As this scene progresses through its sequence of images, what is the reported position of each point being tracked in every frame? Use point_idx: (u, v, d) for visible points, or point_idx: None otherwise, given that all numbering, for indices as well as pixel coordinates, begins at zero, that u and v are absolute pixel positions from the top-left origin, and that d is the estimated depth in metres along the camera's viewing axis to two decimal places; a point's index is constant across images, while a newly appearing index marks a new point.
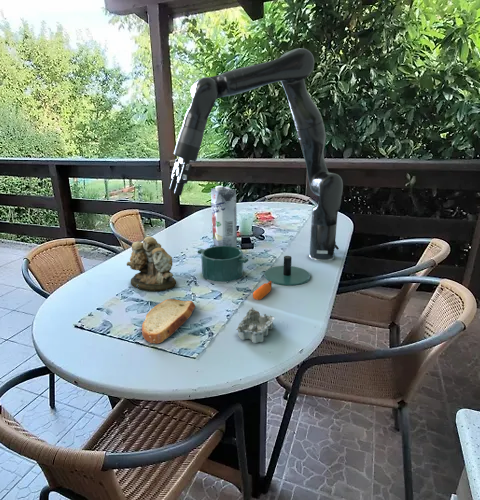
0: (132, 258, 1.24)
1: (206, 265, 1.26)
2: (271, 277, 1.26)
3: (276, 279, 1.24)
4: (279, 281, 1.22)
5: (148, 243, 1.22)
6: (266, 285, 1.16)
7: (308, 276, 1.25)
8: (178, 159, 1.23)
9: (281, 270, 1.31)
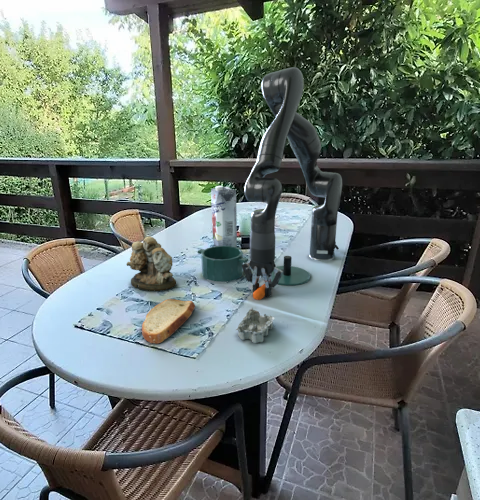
0: (132, 258, 1.24)
1: (206, 265, 1.26)
2: None
3: None
4: (279, 281, 1.22)
5: (148, 243, 1.22)
6: None
7: (308, 276, 1.25)
8: None
9: None
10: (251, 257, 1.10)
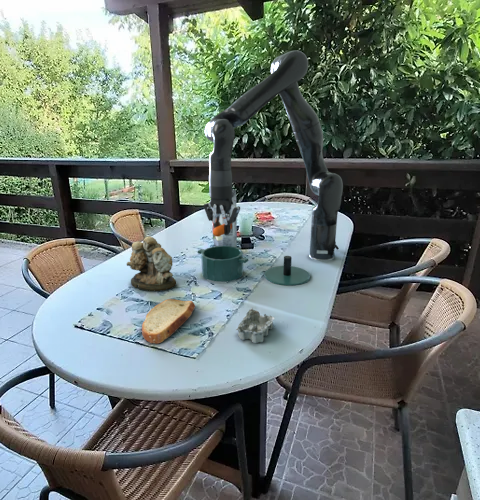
0: (132, 258, 1.24)
1: (206, 265, 1.26)
2: (271, 277, 1.26)
3: (276, 279, 1.24)
4: (279, 281, 1.22)
5: (148, 243, 1.22)
6: None
7: (308, 276, 1.25)
8: None
9: (281, 270, 1.31)
10: (210, 195, 1.20)
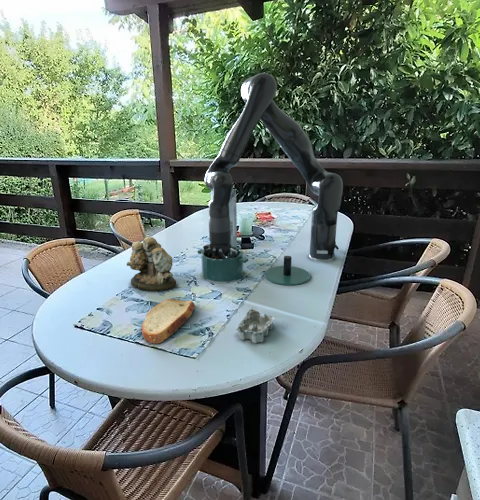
0: (132, 258, 1.24)
1: (206, 265, 1.26)
2: (271, 277, 1.26)
3: (276, 279, 1.24)
4: (279, 281, 1.22)
5: (148, 243, 1.22)
6: None
7: (308, 276, 1.25)
8: (205, 245, 1.31)
9: (281, 270, 1.31)
10: (210, 239, 1.26)
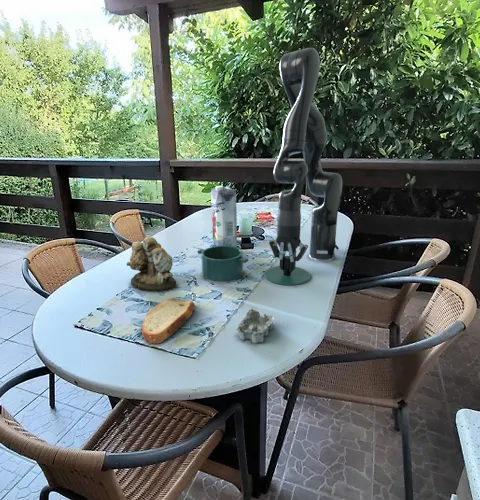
0: (132, 258, 1.24)
1: (206, 265, 1.26)
2: (271, 277, 1.26)
3: (276, 279, 1.24)
4: (279, 281, 1.22)
5: (148, 243, 1.22)
6: None
7: (308, 276, 1.25)
8: (271, 241, 1.27)
9: (281, 270, 1.31)
10: (278, 233, 1.21)
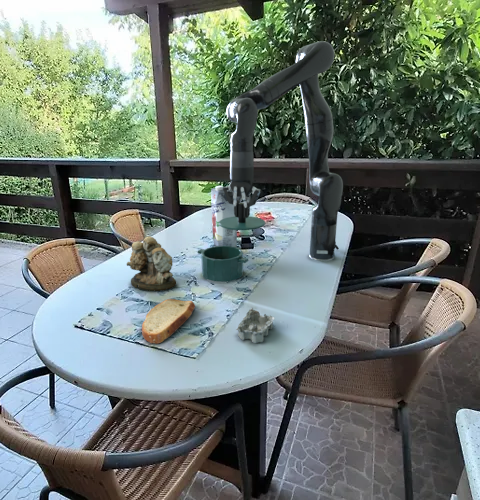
0: (132, 258, 1.24)
1: (206, 265, 1.26)
2: (225, 224, 1.22)
3: (229, 225, 1.20)
4: (232, 226, 1.19)
5: (148, 243, 1.22)
6: None
7: (262, 223, 1.22)
8: (225, 187, 1.23)
9: (237, 219, 1.27)
10: (231, 177, 1.18)
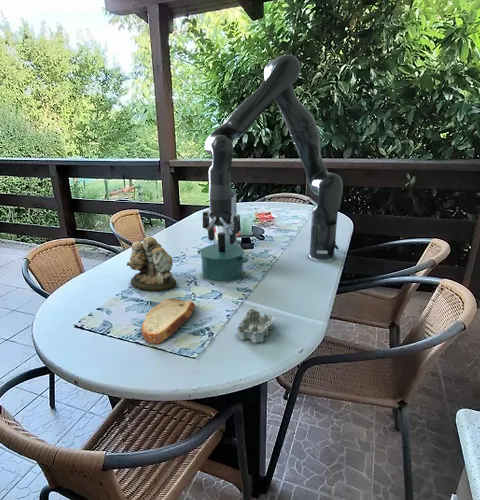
0: (132, 258, 1.24)
1: (206, 265, 1.26)
2: (205, 253, 1.28)
3: (209, 255, 1.26)
4: (211, 257, 1.24)
5: (148, 243, 1.22)
6: None
7: (241, 252, 1.27)
8: (205, 211, 1.28)
9: (218, 247, 1.33)
10: (210, 208, 1.23)
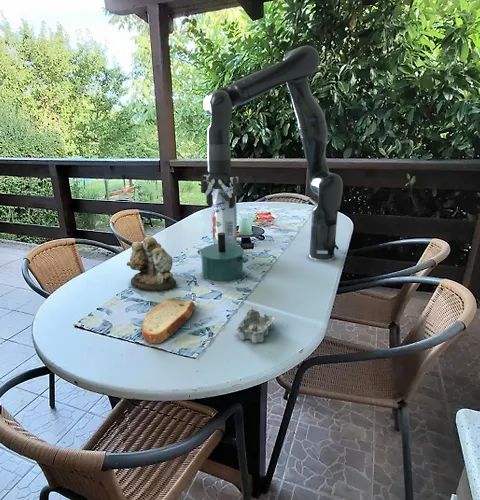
0: (132, 258, 1.24)
1: (206, 265, 1.26)
2: (205, 253, 1.28)
3: (209, 255, 1.26)
4: (211, 257, 1.24)
5: (148, 243, 1.22)
6: None
7: (241, 252, 1.27)
8: (203, 175, 1.24)
9: (218, 247, 1.33)
10: (208, 170, 1.19)
